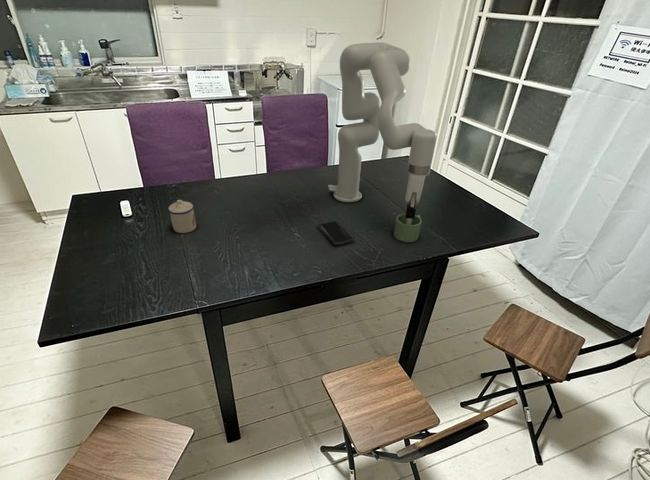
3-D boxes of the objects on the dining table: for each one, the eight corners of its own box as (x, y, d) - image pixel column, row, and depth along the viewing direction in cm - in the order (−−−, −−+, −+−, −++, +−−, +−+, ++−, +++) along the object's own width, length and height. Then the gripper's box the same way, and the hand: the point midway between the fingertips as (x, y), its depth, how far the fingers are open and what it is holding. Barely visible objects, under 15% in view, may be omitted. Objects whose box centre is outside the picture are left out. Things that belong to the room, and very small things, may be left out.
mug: (409, 245, 139) (412, 228, 135) (388, 235, 144) (391, 219, 140) (427, 233, 146) (430, 217, 141) (407, 224, 151) (410, 208, 147)
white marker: (403, 235, 143) (410, 199, 134) (404, 232, 144) (410, 197, 136) (409, 235, 142) (416, 200, 134) (409, 233, 144) (416, 198, 135)
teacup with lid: (199, 230, 146) (194, 202, 139) (175, 236, 142) (169, 208, 135) (191, 217, 154) (186, 190, 147) (169, 222, 151) (162, 195, 144)
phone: (334, 243, 137) (318, 224, 148) (333, 246, 137) (318, 226, 148) (353, 239, 139) (336, 220, 150) (353, 242, 140) (336, 223, 151)
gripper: (409, 159, 135) (401, 205, 146) (405, 175, 123) (397, 225, 134) (430, 161, 133) (421, 208, 144) (429, 178, 121) (419, 228, 132)
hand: (410, 216), depth 139 cm, fingers closed on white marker, 2 cm apart
